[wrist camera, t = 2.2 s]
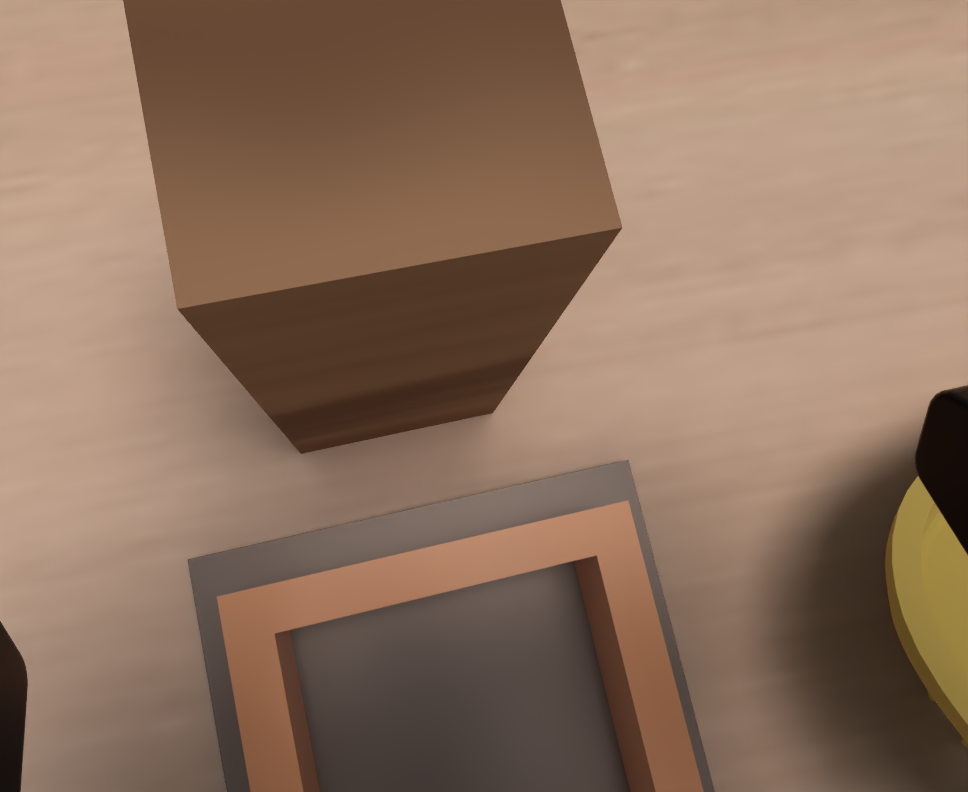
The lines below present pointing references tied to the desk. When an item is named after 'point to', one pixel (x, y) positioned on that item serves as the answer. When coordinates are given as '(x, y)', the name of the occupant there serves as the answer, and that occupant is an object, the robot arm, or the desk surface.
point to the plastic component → (931, 601)
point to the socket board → (453, 650)
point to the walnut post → (371, 197)
